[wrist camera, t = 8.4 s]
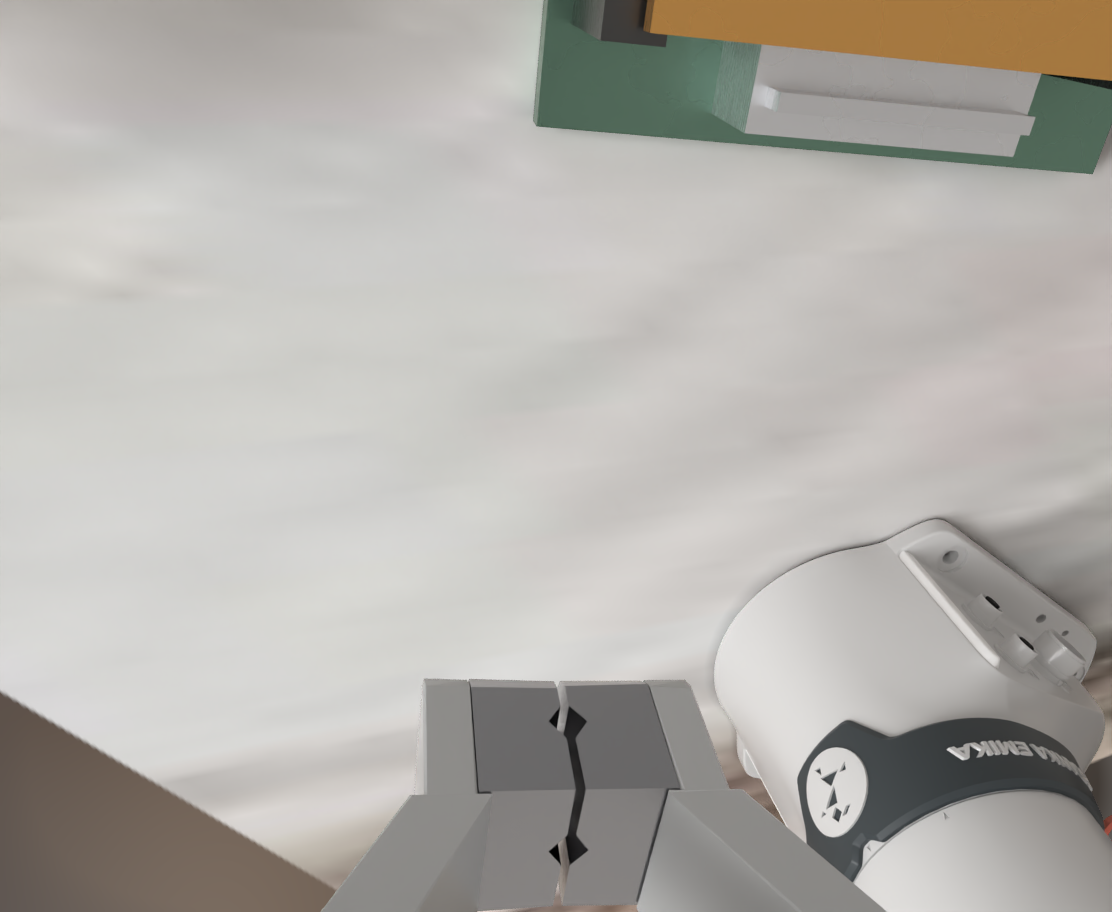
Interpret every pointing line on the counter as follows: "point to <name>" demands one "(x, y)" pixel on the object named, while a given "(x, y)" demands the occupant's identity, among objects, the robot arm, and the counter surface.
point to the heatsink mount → (806, 96)
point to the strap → (911, 30)
